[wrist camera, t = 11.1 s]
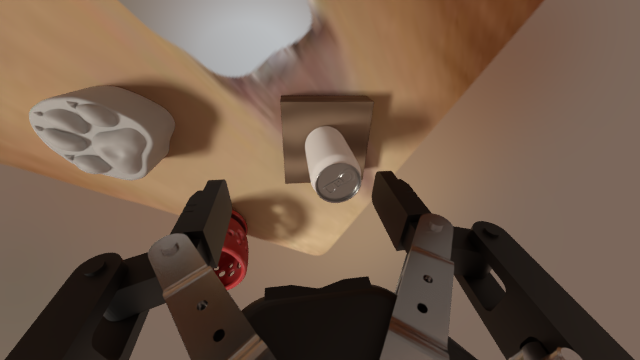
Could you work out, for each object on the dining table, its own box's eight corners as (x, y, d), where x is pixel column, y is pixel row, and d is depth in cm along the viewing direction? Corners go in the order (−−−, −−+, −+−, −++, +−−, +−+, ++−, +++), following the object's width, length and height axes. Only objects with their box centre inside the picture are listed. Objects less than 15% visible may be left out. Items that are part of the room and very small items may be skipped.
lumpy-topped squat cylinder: (165, 164, 40) (138, 193, 33) (72, 132, 35) (17, 158, 28) (179, 111, 36) (152, 131, 28) (75, 67, 31) (11, 76, 24)
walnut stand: (280, 95, 36) (280, 101, 33) (366, 96, 38) (373, 101, 35) (285, 172, 44) (285, 183, 40) (356, 169, 45) (362, 180, 42)
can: (351, 145, 38) (375, 185, 28) (321, 169, 40) (333, 214, 30) (327, 116, 35) (344, 148, 25) (296, 143, 36) (300, 183, 26)
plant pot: (217, 253, 53) (201, 304, 43) (173, 217, 46) (141, 267, 36) (266, 230, 51) (261, 278, 41) (226, 188, 44) (209, 233, 34)
